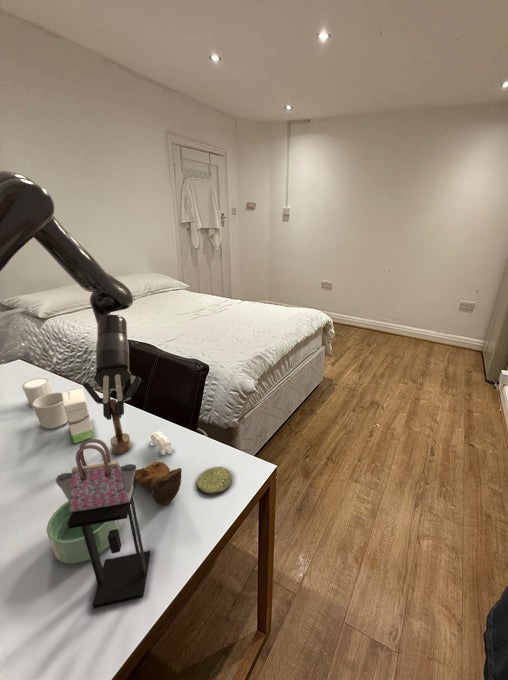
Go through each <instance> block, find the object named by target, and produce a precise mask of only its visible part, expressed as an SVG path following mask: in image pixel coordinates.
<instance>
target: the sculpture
mask: <svg viewBox="0 0 508 680" xmlns="http://www.w3.org/2000/svg"><path fill="white" fill-rule="evenodd" d="M182 472H183V471H182V468H181V467H178V468H175V469H172V470H170V467H169V466H168V465H167V464H166V463H165V462H163V461H154V462H152V463H150V464H148V465H147V466H145V467H142V468H136V471H135V476H136V479H137V481H136V485H138V486H140V487H141V488H143V489H145V490H148V491H152V499H153V501H154V502H155V503H156V504H157V505H160V506H167V505H169V504H170V503H171V502H172V501H173V500H174V499H175V498H176V496H177V495H178V492H179V491H180V487H181V484H182Z"/></svg>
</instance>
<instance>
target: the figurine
mask: <svg viewBox="0 0 508 680" xmlns="http://www.w3.org/2000/svg"><path fill="white" fill-rule="evenodd" d="M149 437H150V440H151V441H152V442H151V443H150V445H151V446H152V447H153V446H156V447H158V448H159V450H160V451H161V452H160V454H161V456H165V455H166V453H167V454H172V453H173V451H172V443H171V441H170V440H169V438H168V437H167V436H166V435H165V434H163V433H162V431H160V430H158V431H156V432H155V431H154V432H153V433H150V436H149Z"/></svg>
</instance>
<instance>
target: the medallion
mask: <svg viewBox="0 0 508 680" xmlns="http://www.w3.org/2000/svg"><path fill="white" fill-rule="evenodd" d="M232 481H233V476H232V474H231V472H230V471H229V470H228V469H227V468H224V467H220V466H219V467H218V466H216V467H212V468H208V469H206V470H205V471H203V472H202V473H201V474H200V475H199V477H198V478H197V481H196V485H197V489H198V490H199V491H200V492H202V493H205V494H208V495H214V494H221V493H223V492H224V491H226V490H228V489H229V488H230V486H231V484H232Z"/></svg>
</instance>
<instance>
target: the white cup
mask: <svg viewBox="0 0 508 680" xmlns="http://www.w3.org/2000/svg"><path fill="white" fill-rule="evenodd" d="M21 388H22V390H23V393H24V394H25V396H26V399H27V401H28V403H29V405H30V406H31V407H32V403H33V402H34V401H35V400H36V399H37V398H39V397H41V396H43V395H46V394H50V393H52V388H51V380H50V379H49V378H47V377H36V378H32V379H29V380H27V381H25V382H24V383H22V385H21Z"/></svg>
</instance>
